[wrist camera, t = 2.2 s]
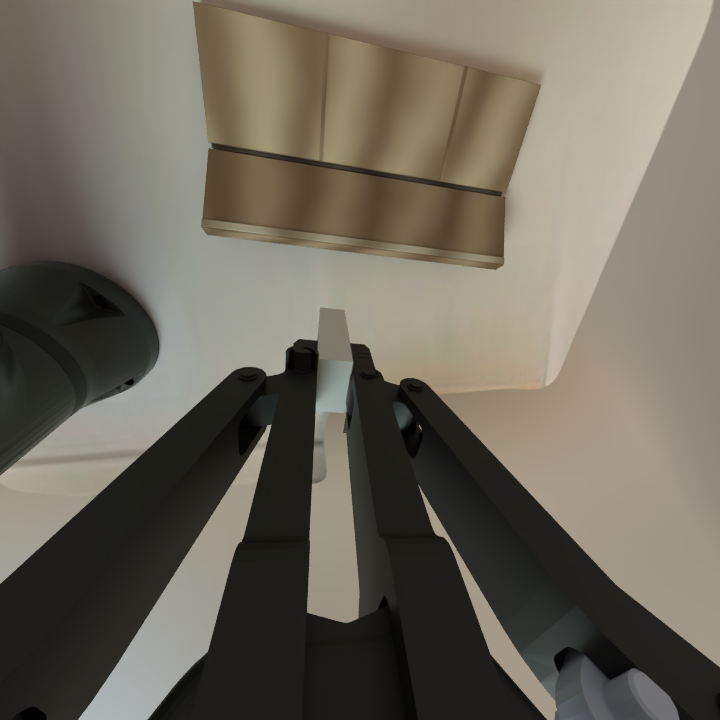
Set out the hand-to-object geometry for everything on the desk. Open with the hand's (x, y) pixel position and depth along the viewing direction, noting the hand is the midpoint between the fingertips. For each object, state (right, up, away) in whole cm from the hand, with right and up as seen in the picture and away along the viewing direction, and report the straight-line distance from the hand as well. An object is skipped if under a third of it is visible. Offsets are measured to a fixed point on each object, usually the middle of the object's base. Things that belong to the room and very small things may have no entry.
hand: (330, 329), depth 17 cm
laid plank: (+3, +20, +7) cm, 21 cm away
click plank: (+2, +12, +9) cm, 15 cm away
